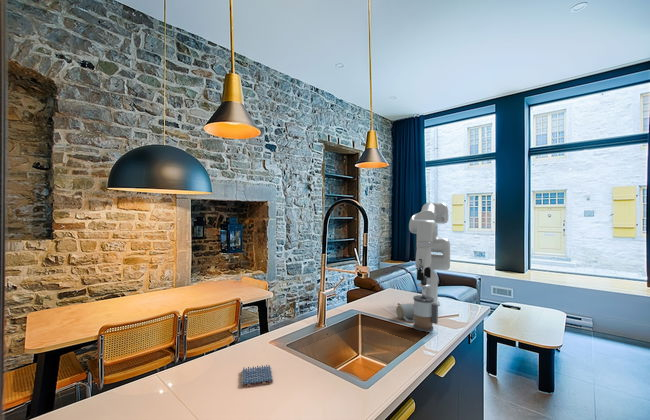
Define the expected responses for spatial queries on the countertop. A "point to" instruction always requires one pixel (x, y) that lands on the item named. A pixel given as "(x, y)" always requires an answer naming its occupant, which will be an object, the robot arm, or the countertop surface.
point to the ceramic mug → (405, 312)
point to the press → (425, 313)
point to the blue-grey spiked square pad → (254, 372)
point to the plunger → (424, 286)
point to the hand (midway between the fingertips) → (423, 278)
